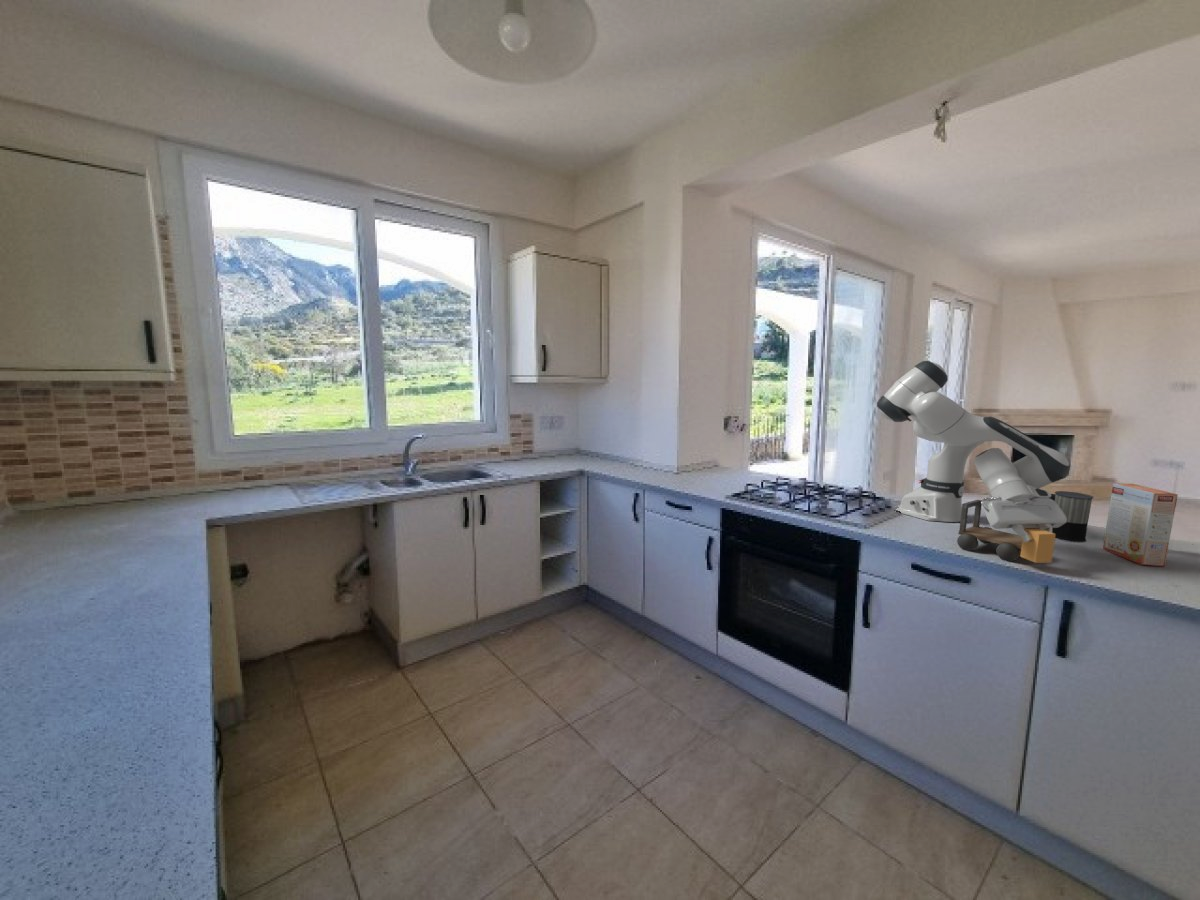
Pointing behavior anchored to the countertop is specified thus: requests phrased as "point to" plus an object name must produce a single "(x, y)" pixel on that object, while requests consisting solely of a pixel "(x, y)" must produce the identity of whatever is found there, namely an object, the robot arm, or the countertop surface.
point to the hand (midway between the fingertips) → (1040, 541)
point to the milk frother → (1072, 515)
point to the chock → (1038, 546)
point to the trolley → (986, 535)
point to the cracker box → (1140, 523)
